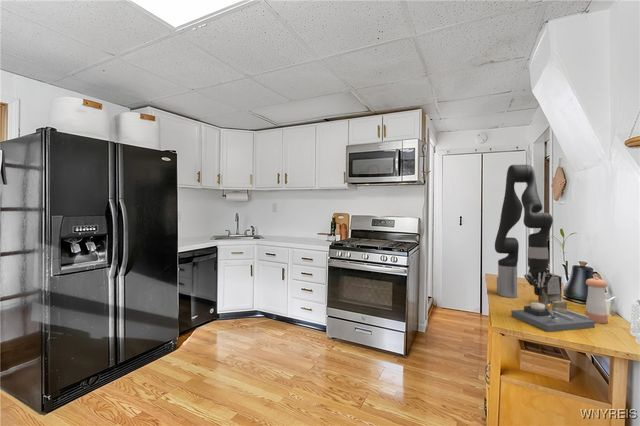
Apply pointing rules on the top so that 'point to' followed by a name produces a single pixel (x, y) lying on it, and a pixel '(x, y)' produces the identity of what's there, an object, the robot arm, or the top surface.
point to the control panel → (558, 323)
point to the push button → (537, 306)
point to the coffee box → (551, 291)
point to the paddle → (559, 306)
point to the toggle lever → (550, 310)
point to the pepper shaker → (596, 300)
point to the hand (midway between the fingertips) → (538, 295)
